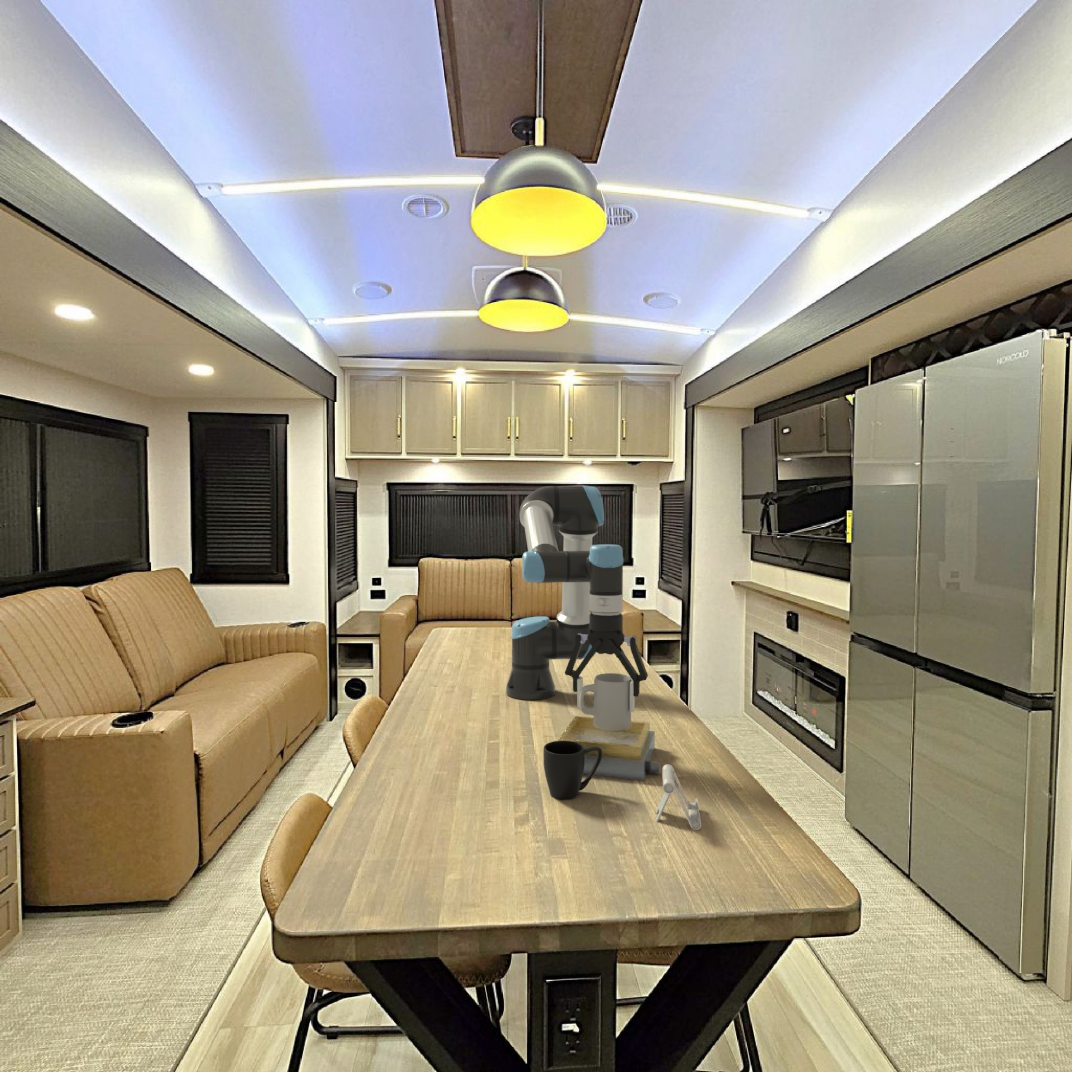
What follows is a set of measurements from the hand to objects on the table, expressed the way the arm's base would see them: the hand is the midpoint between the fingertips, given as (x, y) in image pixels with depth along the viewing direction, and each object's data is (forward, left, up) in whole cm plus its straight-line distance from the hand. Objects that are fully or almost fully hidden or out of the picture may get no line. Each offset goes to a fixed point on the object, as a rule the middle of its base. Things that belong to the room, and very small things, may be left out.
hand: (605, 708), depth 151 cm
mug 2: (0, 0, -4) cm, 4 cm away
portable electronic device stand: (+18, -25, -12) cm, 33 cm away
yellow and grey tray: (+1, 0, -12) cm, 12 cm away
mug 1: (-3, -20, -12) cm, 23 cm away
